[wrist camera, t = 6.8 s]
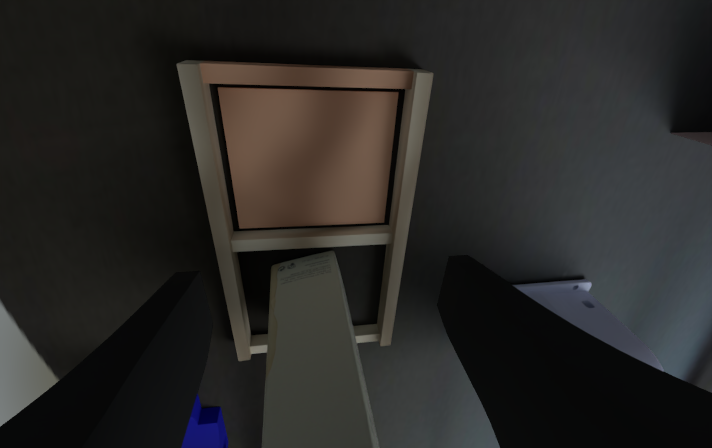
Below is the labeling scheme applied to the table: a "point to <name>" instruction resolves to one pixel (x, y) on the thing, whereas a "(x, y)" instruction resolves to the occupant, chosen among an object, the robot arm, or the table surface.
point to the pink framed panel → (306, 167)
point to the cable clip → (205, 428)
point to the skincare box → (313, 361)
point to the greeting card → (697, 136)
